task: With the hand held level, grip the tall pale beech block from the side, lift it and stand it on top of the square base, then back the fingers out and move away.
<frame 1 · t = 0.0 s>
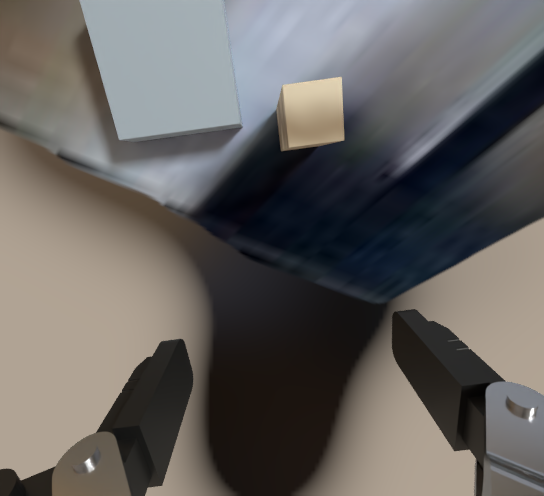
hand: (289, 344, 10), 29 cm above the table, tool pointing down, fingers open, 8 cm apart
base: (175, 72, 33), on the table
beech block: (297, 128, 35), on the table
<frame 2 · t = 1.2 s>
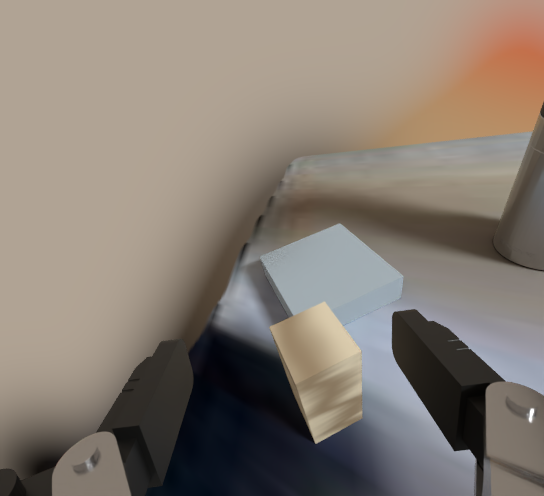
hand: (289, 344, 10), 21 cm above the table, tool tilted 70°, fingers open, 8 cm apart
base: (325, 285, 40), on the table
beech block: (325, 404, 28), on the table
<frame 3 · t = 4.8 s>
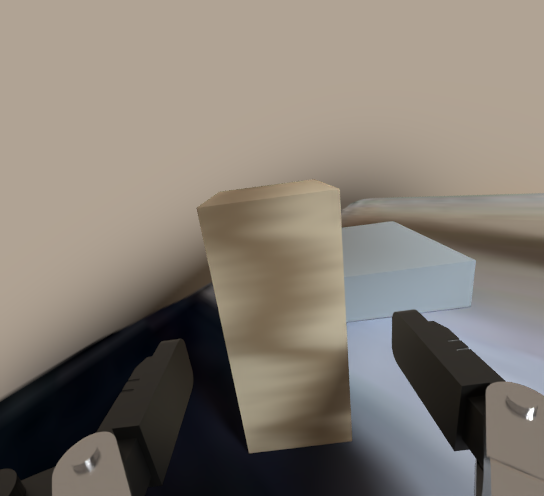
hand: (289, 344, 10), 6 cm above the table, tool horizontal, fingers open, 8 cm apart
base: (356, 280, 29), on the table
beech block: (294, 403, 16), on the table
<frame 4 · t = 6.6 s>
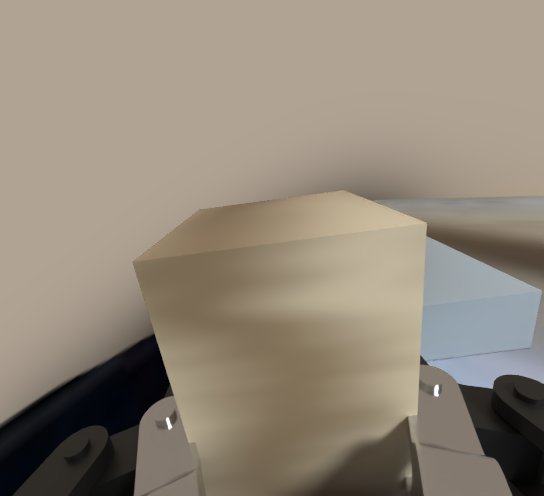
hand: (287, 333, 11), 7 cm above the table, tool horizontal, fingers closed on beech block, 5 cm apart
base: (376, 305, 24), on the table
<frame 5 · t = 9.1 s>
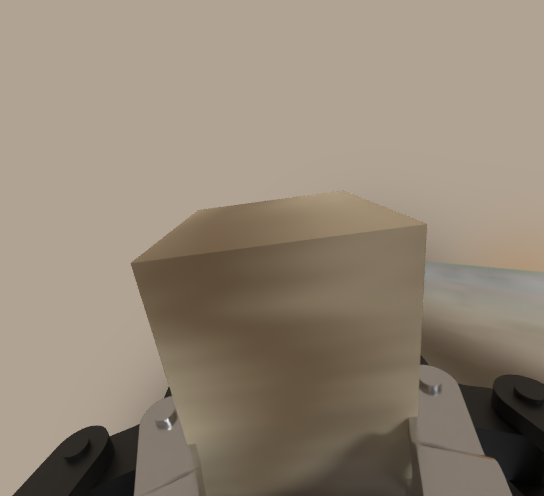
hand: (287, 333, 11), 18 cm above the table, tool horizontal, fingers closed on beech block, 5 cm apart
when the fingers open (11 cm above the table, at t = 11.7 s): beech block stays where it is, resting on base.
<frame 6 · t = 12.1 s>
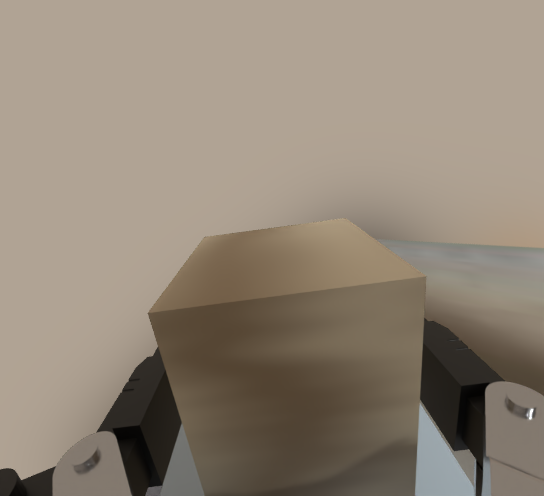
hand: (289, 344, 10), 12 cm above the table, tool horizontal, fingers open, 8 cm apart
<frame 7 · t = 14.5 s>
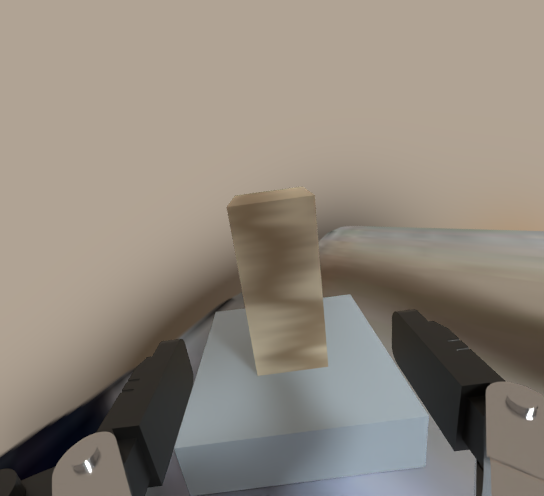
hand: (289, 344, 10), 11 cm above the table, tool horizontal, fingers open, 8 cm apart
base: (294, 387, 23), on the table
beech block: (289, 347, 22), point 4 cm above the table, touching base
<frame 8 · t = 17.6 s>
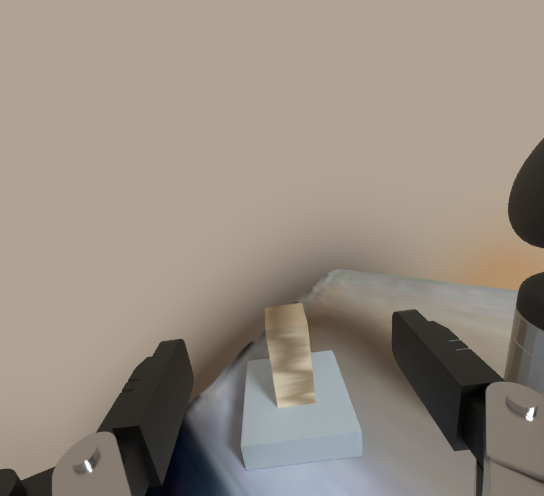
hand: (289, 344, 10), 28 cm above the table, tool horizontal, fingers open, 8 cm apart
base: (297, 411, 39), on the table
beech block: (294, 390, 38), point 4 cm above the table, touching base
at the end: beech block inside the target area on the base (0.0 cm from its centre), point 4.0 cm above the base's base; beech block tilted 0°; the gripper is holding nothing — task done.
